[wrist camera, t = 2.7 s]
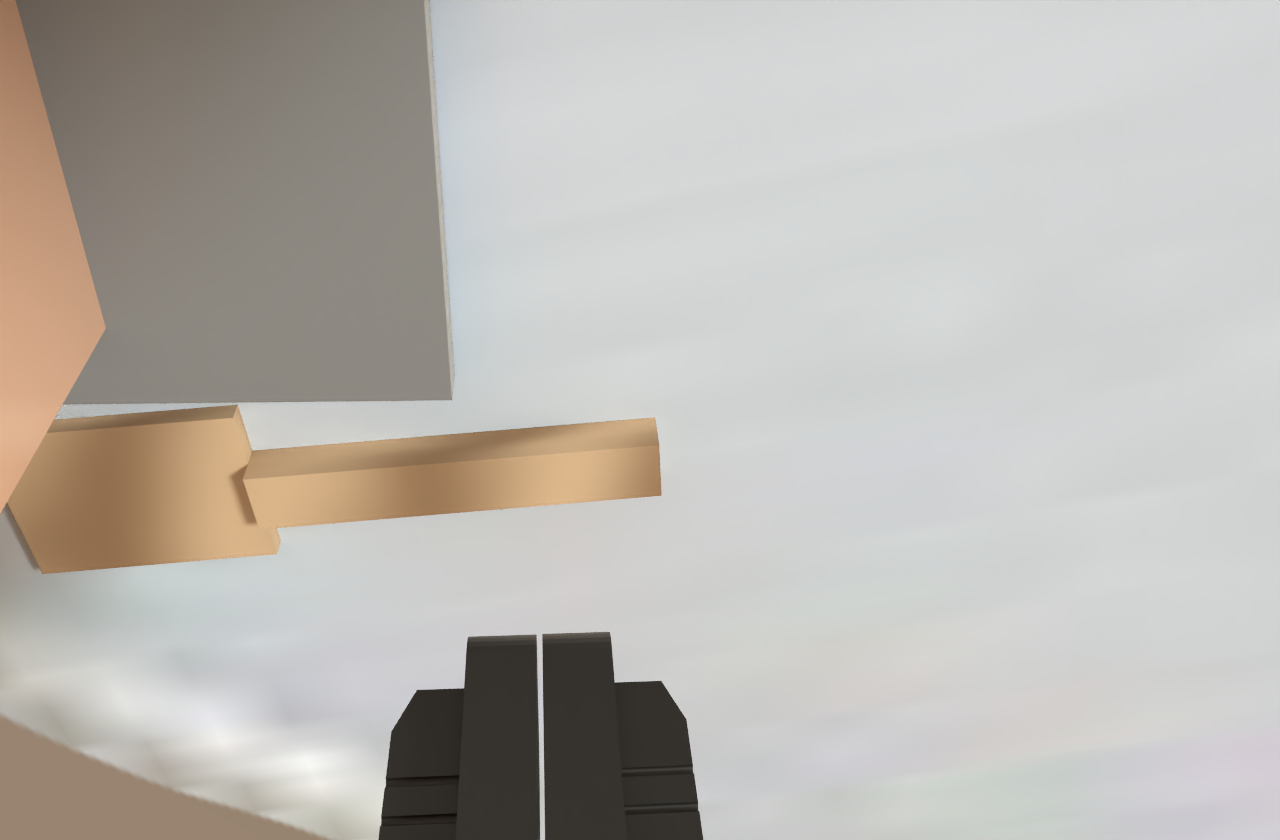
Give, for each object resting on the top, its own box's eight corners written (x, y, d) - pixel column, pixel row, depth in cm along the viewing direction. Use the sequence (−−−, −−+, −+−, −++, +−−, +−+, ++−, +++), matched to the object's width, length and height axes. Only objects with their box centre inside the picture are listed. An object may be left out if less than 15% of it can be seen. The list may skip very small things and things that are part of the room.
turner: (652, 369, 28) (656, 398, 27) (659, 506, 30) (663, 536, 30) (-15, 423, 27) (-36, 454, 26) (50, 557, 30) (34, 590, 29)
